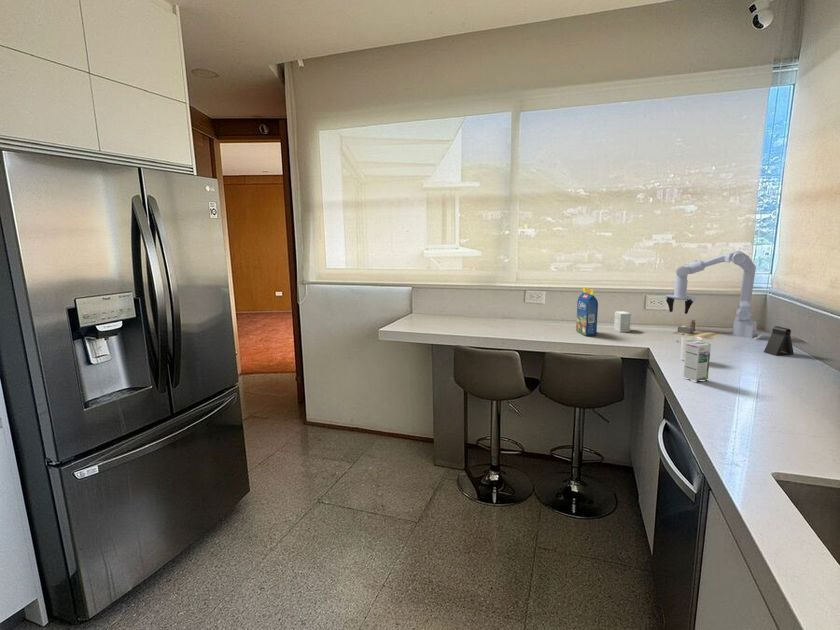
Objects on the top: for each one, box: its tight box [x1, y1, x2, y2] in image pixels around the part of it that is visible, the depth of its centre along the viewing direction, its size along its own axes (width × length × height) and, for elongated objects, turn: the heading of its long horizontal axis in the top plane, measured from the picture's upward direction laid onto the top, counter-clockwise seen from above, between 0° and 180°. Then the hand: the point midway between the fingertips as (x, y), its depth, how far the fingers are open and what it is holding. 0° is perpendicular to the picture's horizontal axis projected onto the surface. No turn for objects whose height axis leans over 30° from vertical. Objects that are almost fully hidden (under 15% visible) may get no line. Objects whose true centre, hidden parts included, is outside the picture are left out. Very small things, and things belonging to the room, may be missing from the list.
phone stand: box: [763, 325, 795, 357], centre depth 196 cm, size 9×6×12 cm, turn 97°
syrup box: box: [683, 341, 712, 381], centre depth 165 cm, size 6×6×14 cm
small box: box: [613, 310, 632, 333], centre depth 245 cm, size 8×6×10 cm
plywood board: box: [673, 329, 722, 340], centre depth 232 cm, size 18×16×1 cm
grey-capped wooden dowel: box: [689, 319, 696, 331], centre depth 237 cm, size 2×2×6 cm
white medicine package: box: [680, 335, 704, 360], centre depth 189 cm, size 8×8×10 cm
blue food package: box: [575, 287, 599, 337], centre depth 239 cm, size 6×12×25 cm, turn 4°
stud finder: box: [677, 325, 694, 334], centre depth 234 cm, size 6×4×3 cm
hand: (678, 312), depth 240 cm, fingers open, 7 cm apart
